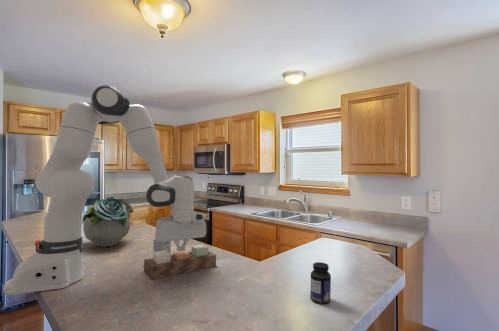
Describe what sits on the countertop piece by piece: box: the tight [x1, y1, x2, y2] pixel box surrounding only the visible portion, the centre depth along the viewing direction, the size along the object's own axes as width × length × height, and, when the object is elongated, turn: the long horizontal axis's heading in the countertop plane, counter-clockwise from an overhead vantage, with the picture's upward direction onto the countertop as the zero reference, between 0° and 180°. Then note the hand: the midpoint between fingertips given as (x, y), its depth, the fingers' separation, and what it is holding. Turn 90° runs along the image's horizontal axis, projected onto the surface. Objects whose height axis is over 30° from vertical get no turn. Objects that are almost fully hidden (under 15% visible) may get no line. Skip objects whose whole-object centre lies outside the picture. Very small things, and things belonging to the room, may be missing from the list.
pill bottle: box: [309, 262, 332, 305], centre depth 87 cm, size 6×6×11 cm
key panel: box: [143, 250, 217, 281], centre depth 111 cm, size 26×10×4 cm, turn 127°
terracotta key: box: [172, 250, 190, 261], centre depth 111 cm, size 5×5×4 cm
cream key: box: [152, 250, 172, 264], centre depth 107 cm, size 5×5×4 cm
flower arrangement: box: [82, 196, 134, 248], centre depth 141 cm, size 25×25×24 cm
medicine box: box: [152, 238, 172, 253], centre depth 126 cm, size 8×4×9 cm, turn 168°
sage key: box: [190, 244, 209, 257], centre depth 116 cm, size 5×5×4 cm
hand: (180, 250), depth 111 cm, fingers closed
